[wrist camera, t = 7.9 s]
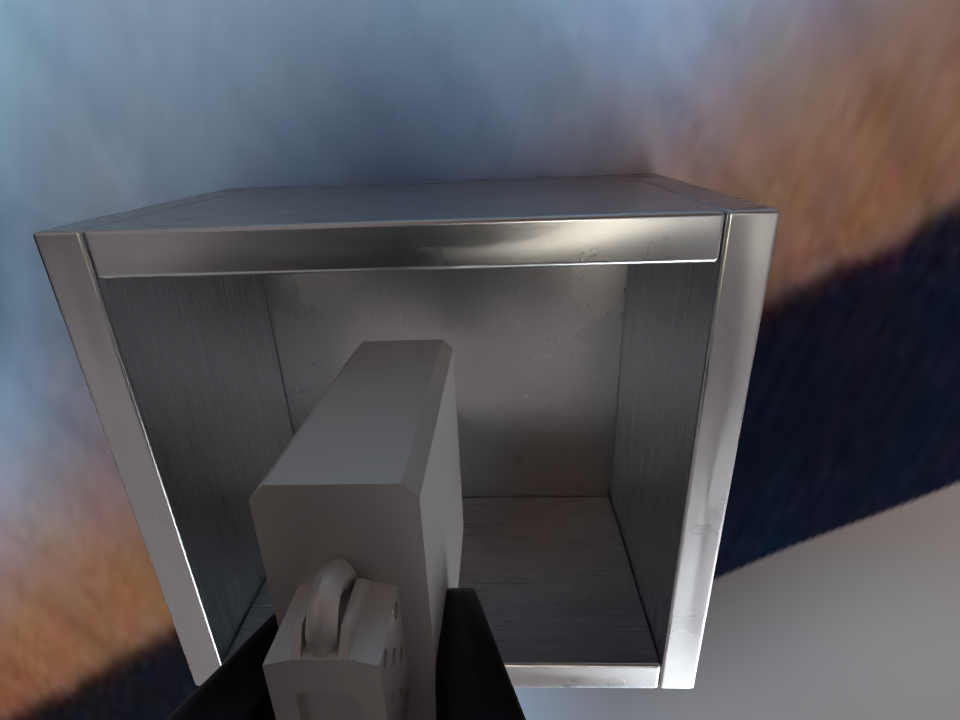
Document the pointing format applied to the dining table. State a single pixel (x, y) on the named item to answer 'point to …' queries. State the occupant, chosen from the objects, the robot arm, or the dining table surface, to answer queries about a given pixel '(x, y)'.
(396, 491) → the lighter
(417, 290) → the metal box
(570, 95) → the dining table surface
